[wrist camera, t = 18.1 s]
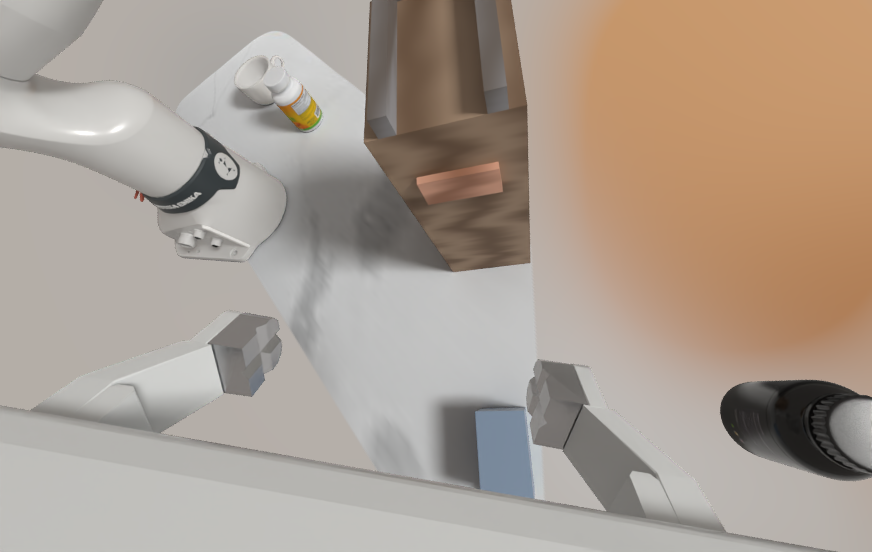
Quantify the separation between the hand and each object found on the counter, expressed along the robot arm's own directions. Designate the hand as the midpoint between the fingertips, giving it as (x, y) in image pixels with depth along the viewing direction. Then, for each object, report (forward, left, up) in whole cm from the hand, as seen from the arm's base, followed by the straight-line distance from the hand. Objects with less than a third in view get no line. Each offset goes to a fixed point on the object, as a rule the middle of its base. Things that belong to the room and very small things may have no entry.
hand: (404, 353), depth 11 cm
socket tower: (0, +20, -31) cm, 37 cm away
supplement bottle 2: (+24, -5, -32) cm, 40 cm away
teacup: (-39, +56, -32) cm, 75 cm away
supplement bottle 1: (-30, +46, -32) cm, 64 cm away
